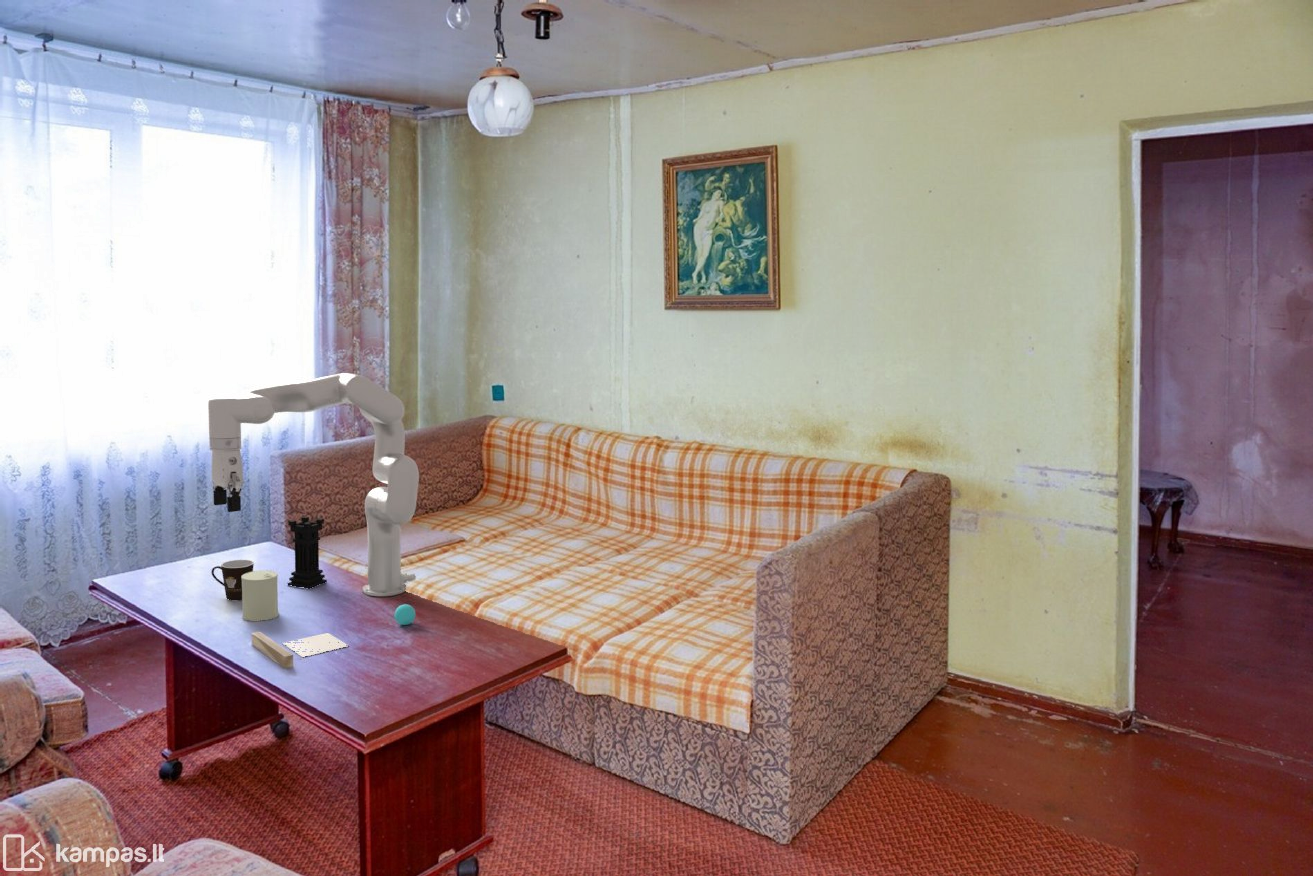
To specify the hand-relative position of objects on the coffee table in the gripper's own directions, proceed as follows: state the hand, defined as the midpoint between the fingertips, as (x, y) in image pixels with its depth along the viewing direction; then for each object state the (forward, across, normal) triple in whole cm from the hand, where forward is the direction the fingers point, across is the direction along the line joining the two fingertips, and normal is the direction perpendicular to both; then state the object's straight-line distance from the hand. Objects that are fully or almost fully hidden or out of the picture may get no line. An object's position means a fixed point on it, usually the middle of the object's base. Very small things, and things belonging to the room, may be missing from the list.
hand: (227, 507), depth 244 cm
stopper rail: (+31, -30, +1) cm, 43 cm away
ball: (+28, -30, -35) cm, 54 cm away
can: (+32, 0, -8) cm, 32 cm away
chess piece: (+32, +20, -30) cm, 48 cm away
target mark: (+31, -30, -10) cm, 44 cm away
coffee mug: (+31, +21, -9) cm, 39 cm away
